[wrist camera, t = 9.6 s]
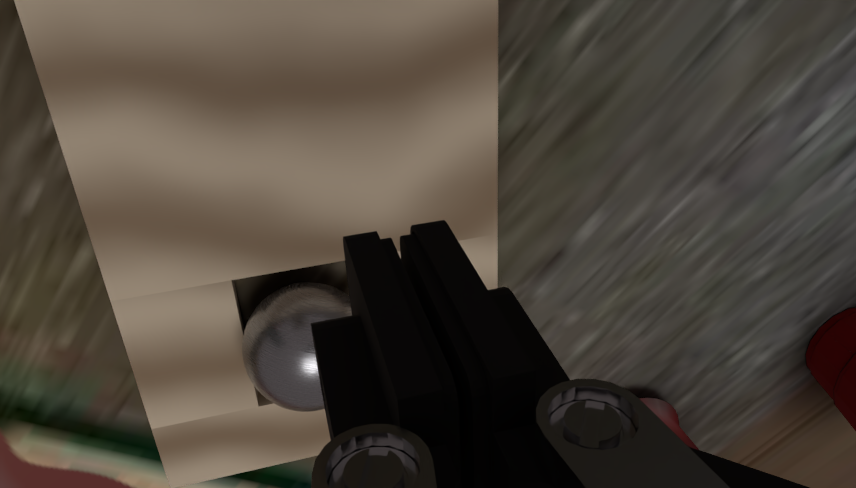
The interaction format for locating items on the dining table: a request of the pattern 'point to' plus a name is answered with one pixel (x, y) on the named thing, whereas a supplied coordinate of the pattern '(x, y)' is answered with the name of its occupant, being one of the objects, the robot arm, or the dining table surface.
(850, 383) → the plastic cup
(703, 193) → the dining table surface
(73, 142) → the wooden recessed tray
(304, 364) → the steel ball
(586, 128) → the dining table surface
